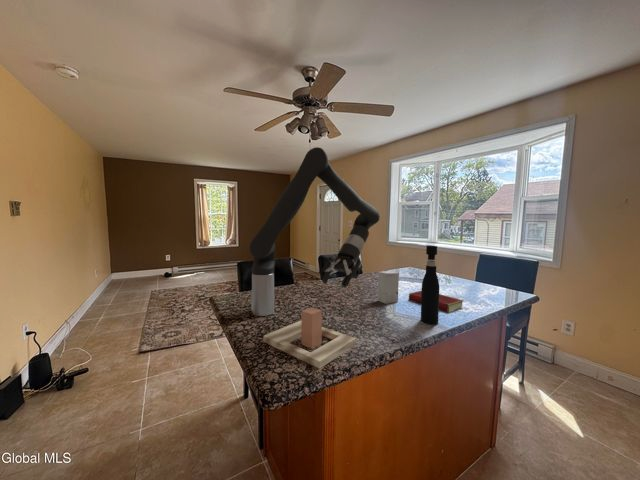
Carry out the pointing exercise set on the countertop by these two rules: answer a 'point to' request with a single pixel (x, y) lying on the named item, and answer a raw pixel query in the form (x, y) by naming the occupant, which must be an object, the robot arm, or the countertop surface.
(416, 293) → the hardcover book
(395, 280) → the skincare box
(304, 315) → the tall salmon pink block
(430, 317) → the wine bottle
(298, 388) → the countertop surface
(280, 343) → the beige lopsided picture frame
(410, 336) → the countertop surface
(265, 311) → the robot arm
